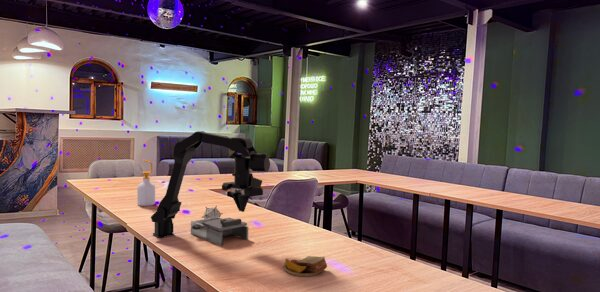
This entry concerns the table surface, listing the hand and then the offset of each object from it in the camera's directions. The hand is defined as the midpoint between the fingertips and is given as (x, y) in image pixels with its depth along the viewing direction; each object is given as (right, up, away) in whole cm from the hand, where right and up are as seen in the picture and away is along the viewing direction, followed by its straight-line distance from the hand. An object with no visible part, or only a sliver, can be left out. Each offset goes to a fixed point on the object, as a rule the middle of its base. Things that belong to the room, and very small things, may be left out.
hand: (241, 211), depth 158 cm
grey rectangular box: (-11, -12, +11) cm, 20 cm away
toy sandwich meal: (+24, -16, -24) cm, 37 cm away
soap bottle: (-62, -7, +70) cm, 94 cm away
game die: (-18, -11, +31) cm, 38 cm away
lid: (-8, -7, +8) cm, 13 cm away
